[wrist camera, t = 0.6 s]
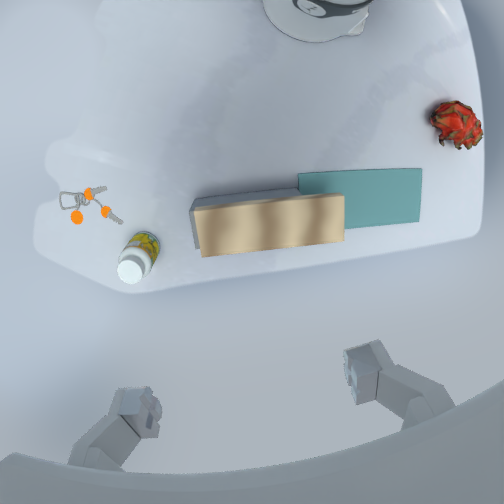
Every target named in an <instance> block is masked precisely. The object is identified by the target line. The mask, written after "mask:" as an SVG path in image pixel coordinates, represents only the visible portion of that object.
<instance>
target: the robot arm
mask: <svg viewBox="0 0 504 504" xmlns="http://www.w3.org/2000/svg"><path fill="white" fill-rule="evenodd" d="M262 1H263V6H264V9H265V12H266V14H267V16H268V18H269V19H270V21H271V22H272V23H273V24H274V25H275V26H276V27H277V28H278V29H279V30H281V31H282V32H284V33H285V34H287V35H289V36H291V37H293V38H295V39H298V40H302V41H306V42H326V41H330V40H333V39H335V38H338V37H340V36H344V35H348V36H355V35H359V34H361V33H362V31H363V29H364V24H365V19H366V18H367V17H368V15H369V13H368V9H369V5H370V4H371V3H372V2H373V0H262ZM343 357H344V359H345V363H344V371H345V376H346V379H347V383H348V385H349V386H351V387H352V388H351V390H352V395H353V398H354V401H355V403H356V405H359V404H362V403H366V402H369V401H373V400H376V401H378V402H379V403H381V404H382V405H383V406H385V407H386V408H388V409H389V410H390V411H392V412H393V413H395V414H396V415H398V416H399V417H401V418H402V419H404V422H403V425H402V428H401V431H400V432H397V433H394V434H391V435H389V436H386V437H383V438H380V439H377V440H374V441H372V442H368V443H365V444H363V445H359V446H356V447H352V448H349V449H345V450H342V451H338V452H335V453H331V454H327V455H323V456H318V457H314V458H310V459H305V460H301V461H295V462H290V463H285V464H279V465H273V466H267V467H260V468H254V469H246V470H236V471H225V472H212V473H192V474H150V473H131V472H126V471H125V470H123V469H122V468H121V465H122V464H123V463H124V462H125V460H126V459H127V458H128V456H129V455H130V454H131V452H132V451H133V450H134V448H135V447H136V446H137V444H138V443H139V442H140V440H141V438H158V434H159V428H160V425H159V424H158V421H159V420H160V418H161V416H162V407H161V404H160V401H159V400H158V398H156V397H154V396H153V395H152V394H153V391H152V390H151V388H150V387H147V386H146V387H128V388H118V389H117V390H116V392H115V395H114V398H113V401H112V404H111V407H110V410H109V413H108V415H105V416H104V417H103V418H102V419H101V420H100V421H99V422H97V423H96V424H95V425H94V426H93V427H92V428H91V429H90V430H89V431H88V432H87V433H86V434H85V435H84V436H83V437H81V438H80V439H79V440H78V441H77V442H76V443H75V444H74V446H73V449H72V451H71V455H70V458H69V461H68V464H61V463H56V462H52V461H47V460H43V459H38V458H34V457H30V456H27V455H23V454H19V453H12V454H10V455H9V456H7V457H6V458H4V459H3V460H2V461H1V462H0V504H504V379H503V380H502V381H500V382H499V383H497V384H495V385H494V386H492V387H490V388H489V389H487V390H485V391H484V392H482V393H480V394H478V395H477V396H475V397H473V398H471V399H469V400H467V401H466V402H464V403H462V404H460V405H458V406H455V404H454V402H453V401H452V399H451V397H450V396H449V394H448V393H447V391H446V389H445V388H444V386H443V385H441V384H439V383H437V382H435V381H432V380H430V379H428V378H426V377H424V376H421V375H419V374H417V373H415V372H413V371H411V370H409V369H407V368H404V367H402V366H400V365H394V363H393V361H392V360H391V358H390V356H389V354H388V353H387V351H386V349H385V347H384V346H383V344H382V342H381V341H380V340H379V339H378V340H375V341H371V342H369V343H365V344H362V345H359V346H355V347H352V348H349V349H345V350H344V352H343Z"/></svg>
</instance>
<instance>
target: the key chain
mask: <svg viewBox="0 0 504 504" xmlns="http://www.w3.org/2000/svg"><path fill="white" fill-rule="evenodd" d="M106 190H107V187H106V186H104V187H100V188H99V187H97V188H96V189H91V188H87V189H86V190H85V192H84V195H83V194H82V193H77V194H74V193H69V192H60V194H59V202H60V206H61V209H62V210H65V209H71V208H79V205H84V206H87V205H88V204H89V203H90V200H94V201H96V202H97V203H98V204H99V205H100V206H101V214H102V216H103V217H105V218H107V217H109V218H111V219H112V220H113V221H116V223H117V222H118V223H119V225H120V224H123V221H122V220H121V219H119V218H118V217H116V216H115V215H113V214H112V212H111V209H110V208H109V207H107V206H104V207H102V205H101V204H100V202H98V200H96V199H94V195H95V194H97V193H100V192H103V191H106ZM61 194H68V195H74V196H75V201H76V203H77V204H78V205H77V204H76V205H77V206H75V207H69V208H63V207H62V204H61ZM79 195H81V196H82V197H81V203H79ZM76 196H77V200H78V201H77V200H76ZM82 198H84V202H82ZM85 198H86V199H88V200H89V202H88V203H87V204H84V203H85V201H86V199H85ZM77 210H78V209H77ZM77 210H76V209H75V211H73V212H72V213H71V220H72V222H73V223H75V224H81V223H82V221H83V215H82V213H81V212H80V211H77Z"/></svg>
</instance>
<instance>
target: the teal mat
mask: <svg viewBox="0 0 504 504" xmlns="http://www.w3.org/2000/svg"><path fill="white" fill-rule="evenodd" d="M298 182H299V192H300V193H301V194H302V195H314V194H326V193H339V192H340V193H341V194H342V195H344V229H351V228H361V227H371V226H381V225H391V224H401V223H411V222H419V217H420V204H421V187H422V169H373V170H349V171H331V172H316V173H302V174H298Z"/></svg>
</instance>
